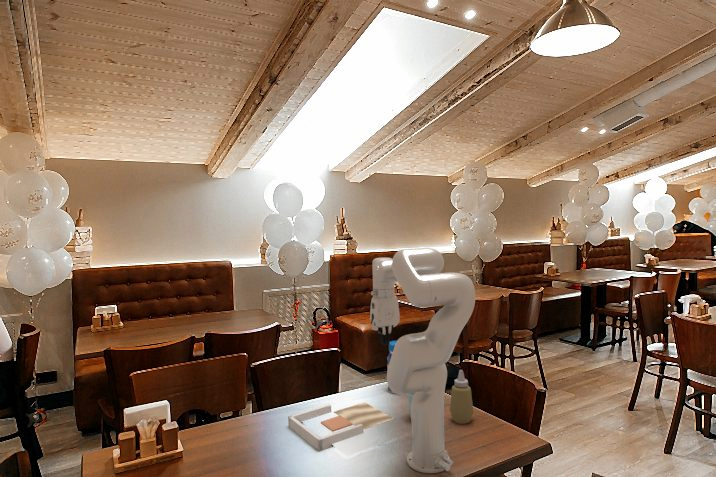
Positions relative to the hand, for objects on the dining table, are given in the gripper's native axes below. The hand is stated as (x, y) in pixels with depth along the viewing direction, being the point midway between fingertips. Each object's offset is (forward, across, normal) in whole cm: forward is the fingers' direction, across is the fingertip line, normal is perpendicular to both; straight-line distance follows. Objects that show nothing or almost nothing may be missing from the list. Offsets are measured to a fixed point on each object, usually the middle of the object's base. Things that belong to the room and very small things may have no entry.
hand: (385, 344), depth 168 cm
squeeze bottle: (+27, +20, -17) cm, 38 cm away
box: (+27, -22, +6) cm, 35 cm away
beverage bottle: (+27, +20, +18) cm, 38 cm away
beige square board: (+27, -6, +6) cm, 28 cm away
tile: (+28, -17, +6) cm, 33 cm away
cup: (+27, +8, -8) cm, 30 cm away
